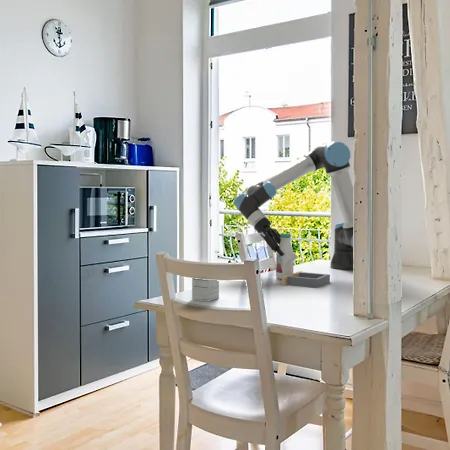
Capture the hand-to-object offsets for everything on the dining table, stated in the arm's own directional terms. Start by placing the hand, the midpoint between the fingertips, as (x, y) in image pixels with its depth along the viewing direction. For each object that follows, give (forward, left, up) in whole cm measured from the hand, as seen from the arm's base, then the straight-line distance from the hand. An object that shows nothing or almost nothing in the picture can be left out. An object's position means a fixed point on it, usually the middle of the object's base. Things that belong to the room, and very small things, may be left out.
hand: (292, 259), depth 247 cm
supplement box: (+58, -9, -9) cm, 59 cm away
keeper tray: (+6, +10, -9) cm, 14 cm away
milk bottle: (0, -3, -9) cm, 9 cm away
